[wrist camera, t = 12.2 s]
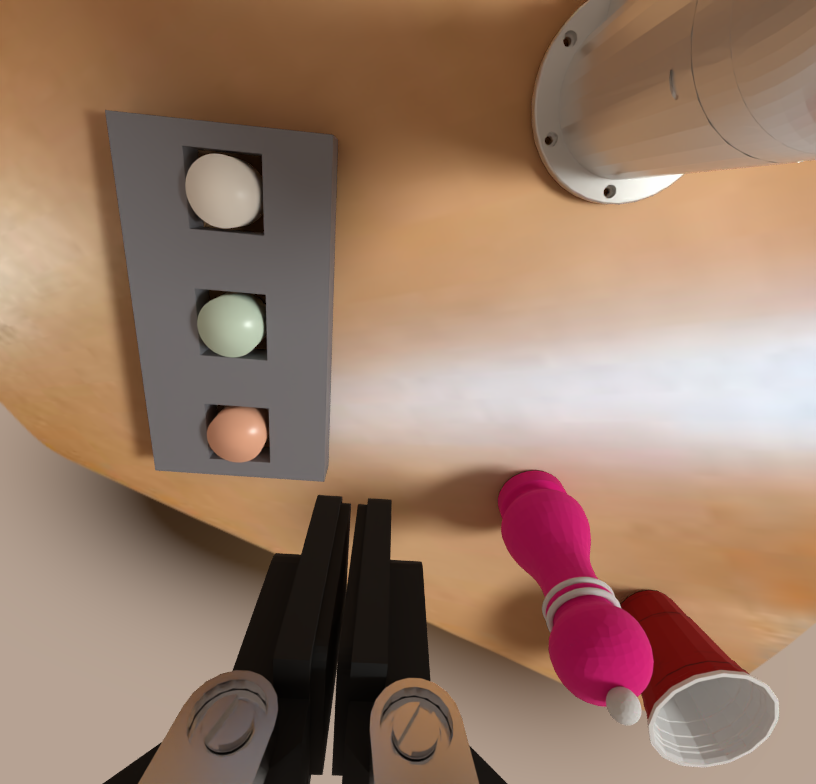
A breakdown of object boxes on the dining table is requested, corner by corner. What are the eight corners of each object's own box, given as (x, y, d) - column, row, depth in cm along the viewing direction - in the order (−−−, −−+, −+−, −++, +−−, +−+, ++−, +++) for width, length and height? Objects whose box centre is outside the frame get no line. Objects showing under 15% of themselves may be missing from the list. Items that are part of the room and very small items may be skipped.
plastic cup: (704, 565, 46) (800, 679, 35) (686, 640, 51) (767, 763, 40) (598, 572, 46) (661, 688, 35) (588, 646, 51) (642, 771, 40)
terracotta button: (218, 396, 38) (204, 411, 35) (272, 400, 38) (262, 415, 35) (222, 442, 40) (208, 460, 37) (273, 446, 40) (263, 464, 37)
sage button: (211, 287, 34) (194, 294, 32) (269, 292, 35) (258, 300, 32) (215, 343, 36) (199, 354, 33) (271, 347, 36) (260, 359, 34)
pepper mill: (499, 535, 44) (571, 772, 26) (485, 475, 42) (555, 691, 23) (573, 519, 44) (700, 750, 25) (563, 457, 41) (698, 664, 23)
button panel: (127, 117, 30) (104, 110, 28) (338, 139, 31) (333, 134, 29) (169, 455, 40) (155, 470, 38) (328, 465, 41) (324, 481, 39)
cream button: (201, 154, 31) (182, 149, 28) (266, 161, 31) (253, 157, 28) (206, 223, 33) (188, 225, 30) (268, 228, 33) (256, 231, 30)
